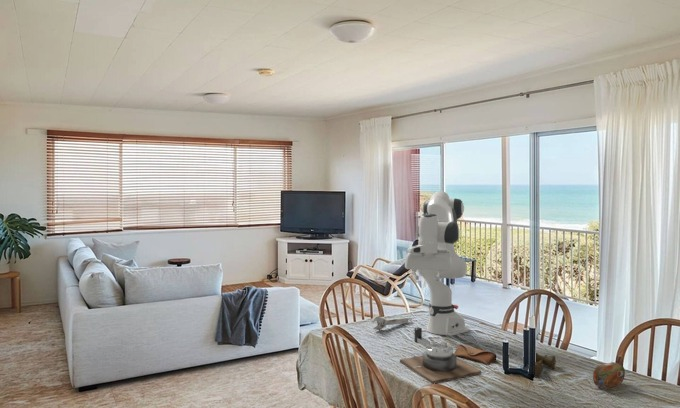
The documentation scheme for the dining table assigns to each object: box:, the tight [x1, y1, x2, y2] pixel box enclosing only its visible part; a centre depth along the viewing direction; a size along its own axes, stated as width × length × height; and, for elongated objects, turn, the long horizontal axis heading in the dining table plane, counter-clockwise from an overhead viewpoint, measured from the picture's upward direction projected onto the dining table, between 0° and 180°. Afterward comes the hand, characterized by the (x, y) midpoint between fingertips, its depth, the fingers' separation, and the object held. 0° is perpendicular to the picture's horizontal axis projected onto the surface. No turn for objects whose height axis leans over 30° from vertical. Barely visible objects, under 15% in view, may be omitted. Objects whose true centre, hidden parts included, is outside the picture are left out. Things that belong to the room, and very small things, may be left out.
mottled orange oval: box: [592, 361, 626, 390], centre depth 182 cm, size 15×3×8 cm, turn 114°
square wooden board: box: [399, 351, 482, 384], centre depth 199 cm, size 24×24×5 cm
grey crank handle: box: [413, 327, 454, 360], centre depth 205 cm, size 23×11×7 cm, turn 24°
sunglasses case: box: [453, 344, 497, 366], centre depth 211 cm, size 18×7×7 cm, turn 52°
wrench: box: [370, 315, 412, 332], centre depth 254 cm, size 8×2×30 cm
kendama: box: [534, 351, 557, 378], centre depth 198 cm, size 6×10×20 cm
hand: (426, 280), depth 213 cm, fingers open, 8 cm apart
